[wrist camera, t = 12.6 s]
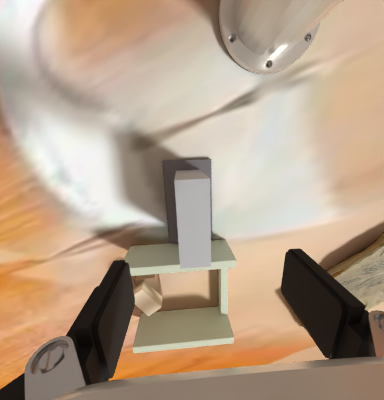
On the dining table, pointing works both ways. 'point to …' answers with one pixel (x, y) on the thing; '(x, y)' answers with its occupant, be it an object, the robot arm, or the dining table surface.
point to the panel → (169, 177)
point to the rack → (186, 318)
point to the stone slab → (363, 274)
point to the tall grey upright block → (193, 218)
